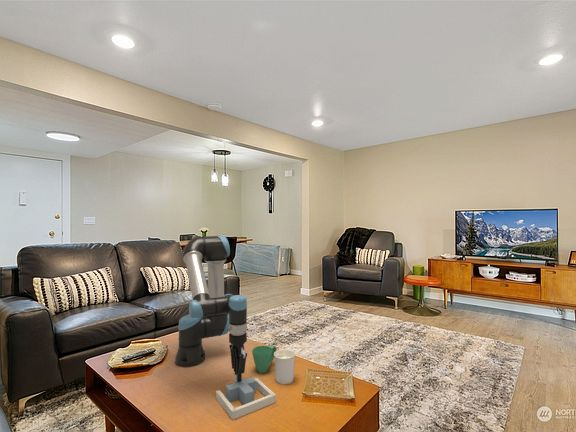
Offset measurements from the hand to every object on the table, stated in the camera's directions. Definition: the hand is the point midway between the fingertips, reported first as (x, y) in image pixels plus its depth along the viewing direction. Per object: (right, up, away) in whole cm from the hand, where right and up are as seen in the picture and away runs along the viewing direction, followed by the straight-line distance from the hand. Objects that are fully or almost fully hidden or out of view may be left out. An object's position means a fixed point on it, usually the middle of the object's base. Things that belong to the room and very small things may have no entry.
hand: (238, 387), depth 131 cm
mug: (+10, -2, +20) cm, 23 cm away
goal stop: (+4, -2, -6) cm, 7 cm away
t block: (+3, -2, -4) cm, 5 cm away
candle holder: (+20, -2, +10) cm, 22 cm away
